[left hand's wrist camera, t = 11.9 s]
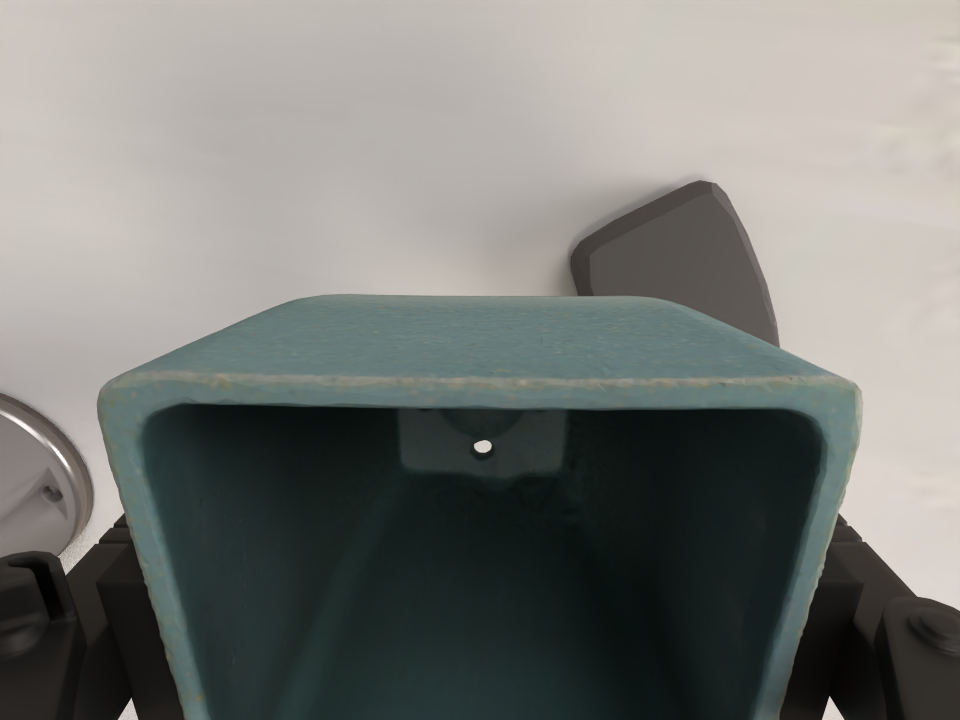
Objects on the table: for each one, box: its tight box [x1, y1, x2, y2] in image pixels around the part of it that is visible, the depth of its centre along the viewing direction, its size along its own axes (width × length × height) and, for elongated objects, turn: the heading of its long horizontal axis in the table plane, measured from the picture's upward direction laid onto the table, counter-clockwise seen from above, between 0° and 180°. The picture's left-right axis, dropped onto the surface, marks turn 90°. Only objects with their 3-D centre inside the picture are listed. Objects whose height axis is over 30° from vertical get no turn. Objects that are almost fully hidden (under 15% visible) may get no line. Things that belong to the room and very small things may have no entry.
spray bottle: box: [571, 180, 780, 348], centre depth 38 cm, size 3×11×24 cm
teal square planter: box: [97, 294, 863, 720], centre depth 12 cm, size 9×9×9 cm
